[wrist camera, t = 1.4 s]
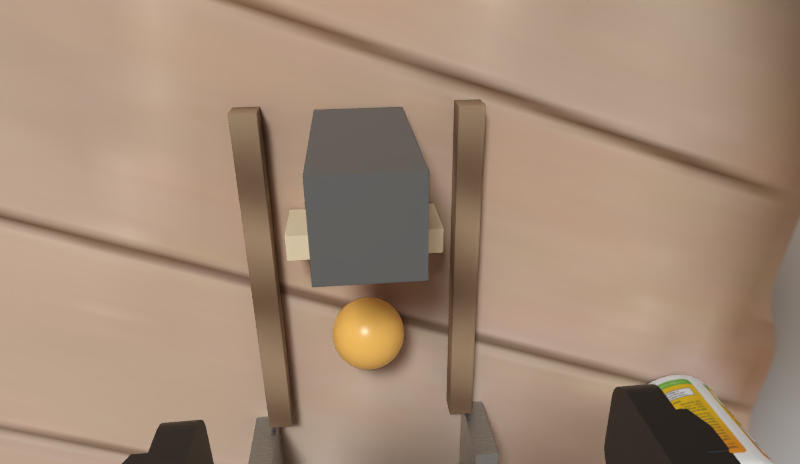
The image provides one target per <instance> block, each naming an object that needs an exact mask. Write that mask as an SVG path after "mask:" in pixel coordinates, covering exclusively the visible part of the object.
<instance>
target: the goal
mask: <svg viewBox="0 0 800 464" xmlns="http://www.w3.org/2000/svg"><path fill="white" fill-rule="evenodd" d="M249 464H284V459H283V452H282V444H281V436H280V428H279V427H275V428H270V424H269V417H265V418H257V419H256V425H255V430H254V436H253V442H252V447H251V453H250V458H249ZM459 464H498V450H497V447H496V444H495V441H494V438H493V434H492V431H491V428H490V425H489V422H488V419H487V416H486V412H485V409H484V406H483V403H482V402H472V406H471V413H464V414H461V437H460V462H459Z"/></svg>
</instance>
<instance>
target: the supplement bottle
mask: <svg viewBox="0 0 800 464" xmlns="http://www.w3.org/2000/svg"><path fill="white" fill-rule="evenodd" d="M648 384H655V385H657V386H658V387H660V389H661V390H662V391H663V392H664V394H665V395H666V396H667V398H668V399H669V401H670V402H671V403H672V405H673V406H674V407H675V409H685V408H687V409H688V410H690V411H691V412H692V413H694V414H695V415H697V416H698V417H699V418H701V419H702V420H703V421H705V422H706V423H708V424H709V425H710V426H712V427H713V429H714V430H715V431H716V433H717V434H718V435H719V436H720V438H721V439H722V440H723V441H724V443H725V444H726V445H727V447H728V448H729V452H730V453H733V454H734V455H735V457H736V458H737V459H738V460H739V462H740V463H741V464H774V463H773V462H772V461H771V459H770V458H769V457H768V456H767V455H766V454H765V453H764V451H763V450H762V449H761V448H760V447H759V446H758V444H757V443H756V442H755V441H754V440H753V439H752V437H751V436H750V435H749V434H748V433H747V432H746V430H745V429H744V428H743V427H742V426H741V424H740V423H739V422H738V421H737V420H736V419H735V417H734V416H733V415H732V414H731V413H730V412H729V410H728V409H727V408H726V407H725V406H724V404H723V403H722V402H721V401H720V400H719V399H718V398H717V396H716V395H715V394H714V393H713V392H712V391H711V390H710V389H709V388H708V386H707V385H706V384H704V383H703V382H702V381H700V380H699V379H697V378H695V377H692V376H688V375H670V376H665V377H662V378H659V379H656V380H654V381H652V382H650V383H648Z"/></svg>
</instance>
